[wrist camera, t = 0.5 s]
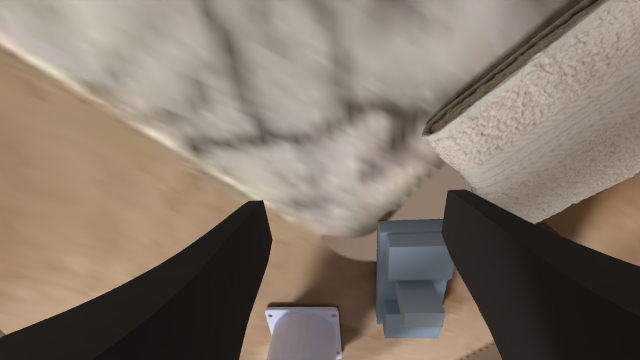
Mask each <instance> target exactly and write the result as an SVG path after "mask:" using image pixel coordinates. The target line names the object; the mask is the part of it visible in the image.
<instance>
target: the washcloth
mask: <svg viewBox="0 0 640 360" xmlns="http://www.w3.org/2000/svg"><path fill="white" fill-rule="evenodd" d="M422 136H423V137H424V138H425V139H426V141H427V144H428V145H429V146H430V147H431V148H432V149H433V150H435V151H436V152H437V153H438V155H439V157H440V158H442V159H443V160H444V161H445V162H446V163H448V164H449V165H451V167H454V169H456V170H458V171H459V172H460V173H461V175H462V176H463V177H464V179H465V180H466V182H467V183H468V184H469V185H470V186H471V188H472V189H471V190H472V193H474V194H476V195H478V196H480V197H482V198H484V199H486V200H488V201H490V202H492V203H494V204H496V205H498V206H500V207H501V208H503V209H505V210H507V211H509V212H511V213H513V214H515V215H517V216H519V217H521V218H523V219H525V220H527V221H529V222H531V223H533V224H535V223H537V222H541V221H542V220H544V219H546V218H549V217H550V216H552V215H555V214H556V213H558V212H561V211H563V210H564V209H565V208H567V207H569V206H570V205H571V204H572V203H575V204H577V203H578V202H579V201H581V200H583V199H586V198H588V197H589V196H592V195H595V194H596V193H597V192H600V191H602V190H604V189H606V188H610V187H611V186H613V185H615V184H616V183H619V182H622V181H624V180H625V179H628V178H631V177H634V175H635V174H637V173H638V172H640V0H583V1H582V2H581V3H579V4H578V5H577V6H575V7H574V8H573V9H571V10H570V11H569V12H567V13H566V14H565V15H564V16H562V17H561V18H560V19H558V20H557V21H556V22H554V23H553V24H552V25H551V26H549V27H548V28H547V29H545V30H544V31H543V32H542V33H540V34H539V35H538V36H536V37H535V38H534V39H532V40H531V41H530V42H529V43H528V44H526V45H525V46H524V47H523V48H521V49H520V50H519V51H518V52H516V53H515V54H514V55H513V56H511V57H510V58H509V59H507V60H506V61H505V62H504V63H502V64H501V65H500V66H499V67H497V68H496V69H495V70H494V71H493V72H491V73H490V74H489V75H488V76H487V77H485V78H484V79H483V80H481V81H480V82H478V83H477V84H476V85H475V86H473V87H472V88H471V89H470V90H468V91H466V92H465V93H464V94H463V95H461V96H460V97H459V98H458V99H456V100H455V101H453V102H452V103H451V104H450V105H448V106H447V107H446V108H445V109H443V110H442V111H441V112H439V113H438V114H437V115H436V116H435V117H434V118H433V119H432V120H431V121H430V122H429V123H428V124H427V125H426V126H425V128H424V130H423V133H422Z"/></svg>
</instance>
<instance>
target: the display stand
mask: <svg viewBox="0 0 640 360" xmlns="http://www.w3.org/2000/svg"><path fill="white" fill-rule="evenodd" d="M442 225H443V219H430V220H398V221H378V231H377V271H376V317H377V324H383V329H384V335H385V338H439V333H440V329H441V328H442V327H443V322H444V318H445V311H444V308H443V306H442V303H443V299H444V294H445V289H446V284H447V280H451V279H452V275H453V270H454V266H455V264H454V263H453V261H452V259H451V257H450V255H449V252H448V250H447V247H446V245H445V242H444V239H443V236H442V234H441V231H442Z"/></svg>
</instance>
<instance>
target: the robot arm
mask: <svg viewBox="0 0 640 360" xmlns="http://www.w3.org/2000/svg"><path fill="white" fill-rule="evenodd" d="M441 234H442V236H443V239H444V242H445V245H446V247H447V250H448V252H449V255H450V257H451V259H452V261H453V263H454V264H455V266H456V268H457V270H458V272H459V274H460V275H461V277H462V279H463V281H464V283H465V284H466V286H467V288H468V290H469V292H470V293H471V295H472V297H473V299H474V301H475V302H476V304H477V306H478V308H479V310H480V311H481V313H482V315H483V317H484V319H485V321H486V323H487V325H488V327H489V330H490V332H491V334H492V337H493V339H494V341H495V343H496V346H497V348H498V350H499V353H500V355H501V357H502V360H640V266H637V265H634V264H631V263H628V262H625V261H622V260H620V259H617V258H614V257H611V256H609V255H606V254H603V253H601V252H598V251H596V250H593V249H591V248H588V247H586V246H583V245H581V244H578V243H576V242H573V241H571V240H569V239H566V238H564V237H562V236H559V235H557V234H555V233H553V232H550V231H548V230H546V229H544V228H542V227H540V226H537V225H535V224H533V223H531V222H529V221H527V220H525V219H523V218H521V217H519V216H517V215H515V214H513V213H511V212H509V211H507V210H505V209H503V208H501V207H500V206H498V205H496V204H494V203H492V202H490V201H488V200H486V199H484V198H482V197H480V196H478V195H476V194H474V193H472V192H470V191H467V190H449V191H448V193H447V199H446V206H445V212H444V219H443V225H442V231H441ZM271 245H272V236H271V231H270V227H269V223H268V219H267V215H266V210H265V206H264V202H263V200H261V201H248V202H247V203H245V204H244V205H242V206H241V207H240V208H238V209H237V210H236V211H235V212H233V213H232V214H231V215H229V216H228V217H227V218H226V219H224V220H223V221H222V222H221V223H219V224H218V225H217V226H215V227H214V228H213V229H212V230H210V231H209V232H207V233H206V234H205V235H203V236H202V237H200V238H199V239H198V240H196V241H195V242H194V243H192V244H191V245H189V246H188V247H187V248H185V249H184V250H182V251H180V252H179V253H177V254H176V255H174V256H173V257H171V258H169V259H168V260H166V261H164V262H163V263H161V264H160V265H158V266H156V267H154V268H153V269H151V270H149V271H147V272H145V273H143V274H141V275H140V276H138V277H136V278H134V279H132V280H130V281H128V282H127V283H125V284H123V285H121V286H119V287H117V288H115V289H113V290H111V291H109V292H107V293H105V294H102V295H100V296H98V297H96V298H94V299H92V300H90V301H87V302H85V303H83V304H81V305H79V306H76V307H74V308H72V309H69V310H67V311H65V312H62V313H60V314H57V315H55V316H53V317H50V318H48V319H45V320H43V321H40V322H38V323H35V324H33V325H30V326H28V327H25V328H23V329H20V330H18V331H15V332H13V333H10V334H7V335H5V336H3V337H1V338H0V360H239V357H240V352H241V348H242V344H243V340H244V335H245V331H246V327H247V324H248V320H249V317H250V314H251V311H252V308H253V305H254V302H255V299H256V296H257V293H258V290H259V287H260V285H261V282H262V279H263V276H264V273H265V270H266V267H267V264H268V260H269V255H270V250H271ZM265 314H266V318H267V321H268V324H269V328H270V331H271V335H272V337H271V342H270V346H269V351H268V355H267V360H336V359H341V358H342V350H341V338H340V326H339V314H338V309H337V308H336V307H267V308H266V310H265Z"/></svg>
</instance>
